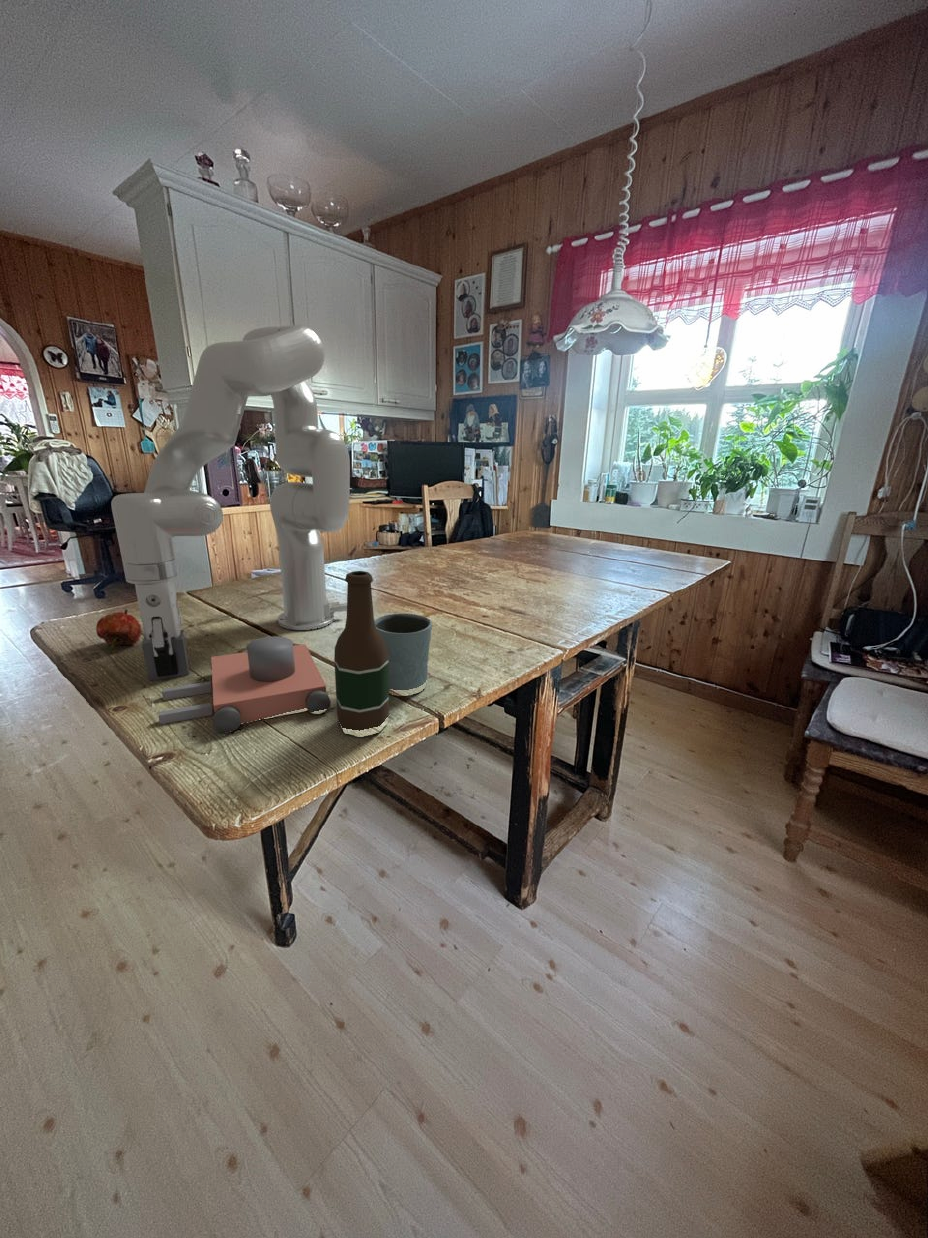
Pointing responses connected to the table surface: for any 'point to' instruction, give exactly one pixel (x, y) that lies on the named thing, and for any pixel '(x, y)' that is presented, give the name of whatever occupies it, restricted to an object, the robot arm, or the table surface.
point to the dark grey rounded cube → (179, 650)
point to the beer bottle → (361, 661)
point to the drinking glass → (406, 648)
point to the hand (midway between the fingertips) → (168, 667)
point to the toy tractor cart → (254, 685)
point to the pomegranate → (119, 629)
